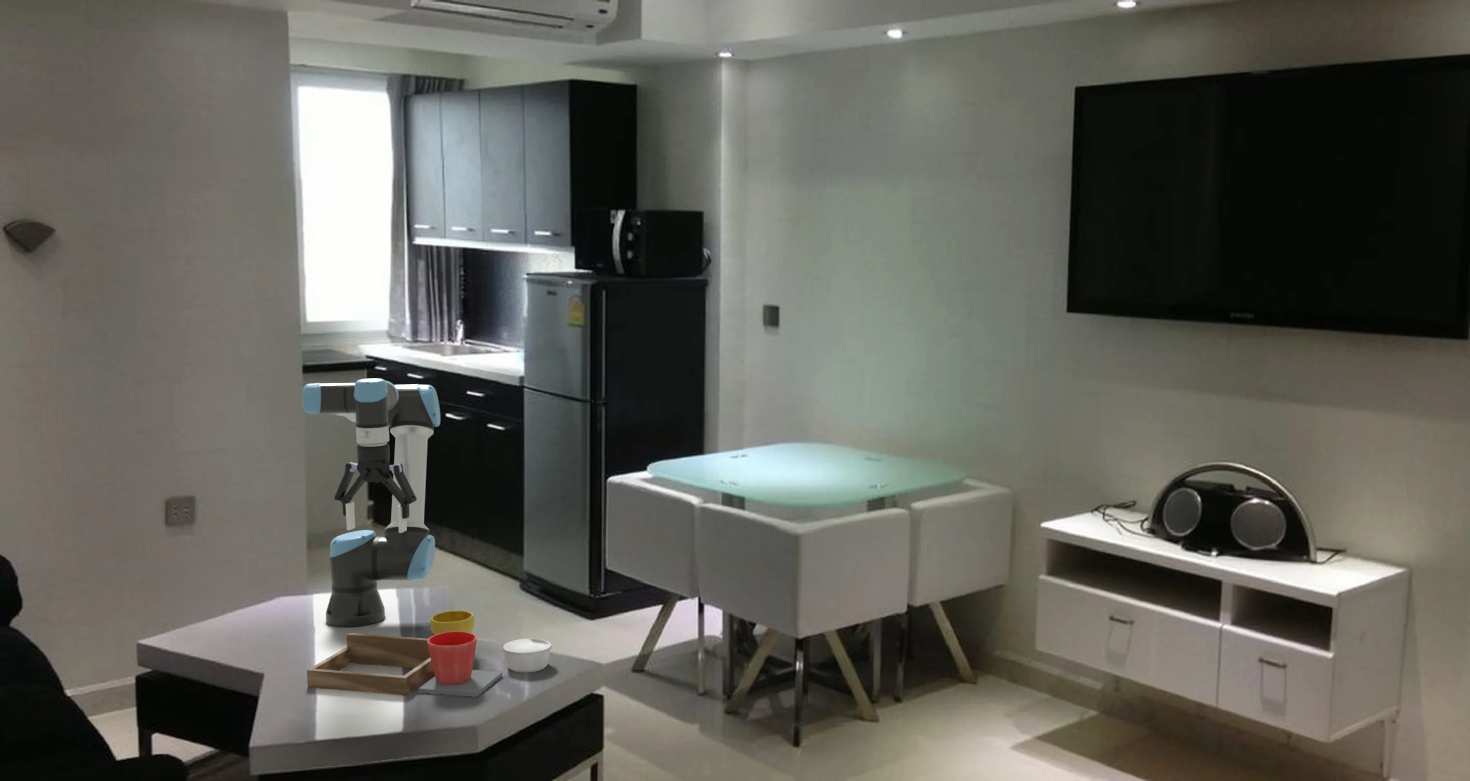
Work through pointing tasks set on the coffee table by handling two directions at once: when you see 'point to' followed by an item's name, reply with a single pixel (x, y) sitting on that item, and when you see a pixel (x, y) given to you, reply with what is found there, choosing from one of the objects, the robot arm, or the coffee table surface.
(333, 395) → the robot arm
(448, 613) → the plant pot
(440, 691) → the rubber mat
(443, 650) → the flower pot
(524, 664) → the ramekin
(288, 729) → the coffee table surface
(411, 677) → the frame
